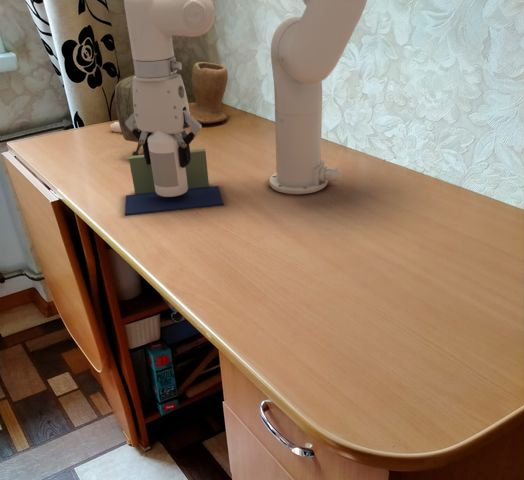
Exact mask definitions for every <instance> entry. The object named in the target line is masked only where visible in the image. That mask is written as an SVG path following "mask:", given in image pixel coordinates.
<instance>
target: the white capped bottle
mask: <svg viewBox="0 0 524 480" xmlns="http://www.w3.org/2000/svg"><path fill="white" fill-rule="evenodd" d="M148 147H149V154H150V160H151V166H152V173H153V179H154V185H155V192H156V193H157V194H158V195H160V196H164V197H173V196H179V195H182V194H184V193H185V192H187V190H188V185H187V176H186V168H185V167H184V168H182V167H180V160H179V152H178V148H179V147H180V144H179V142H178V140H177V139H176V137H175V135H174V134H167V133H163V132H160V131H158V132H154V133H152V134H151V135H150V136H149V137H148Z"/></svg>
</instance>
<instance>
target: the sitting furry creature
mask: <svg viewBox="0 0 524 480" xmlns="http://www.w3.org/2000/svg"><path fill="white" fill-rule="evenodd" d="M109 126H110V130H111V131H112V132H114V133H120V134H122V132H121V129H120V125H119V121H114V122H112V123H110V125H109Z"/></svg>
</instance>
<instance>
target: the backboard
mask: <svg viewBox="0 0 524 480" xmlns="http://www.w3.org/2000/svg"><path fill="white" fill-rule="evenodd" d="M190 156H191V160H190V163H189V164H188V165H187V166H186V167H185V168H186V176H187V185H188V189H191V188H201V187H210V182H209V171H208V163H207V161H208V160H207V152H206V148H199V149H190ZM128 161H129V167H130V174H131V178H132V184H133V190H134V194H143V193H153V192H155V185H154V179H153V173H152V166H151V164H150V165H147V164H146V159H145V158H144V154H139V155H136V156H132V155H129V156H128Z"/></svg>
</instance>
